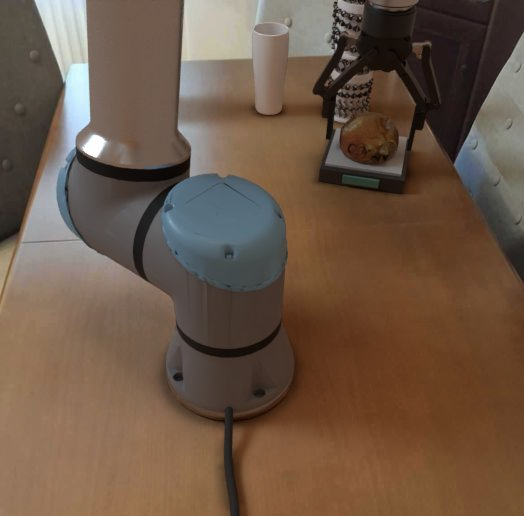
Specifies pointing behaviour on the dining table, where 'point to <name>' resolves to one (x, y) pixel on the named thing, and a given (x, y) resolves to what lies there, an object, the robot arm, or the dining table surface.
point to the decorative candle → (350, 62)
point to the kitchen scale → (364, 168)
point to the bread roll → (369, 138)
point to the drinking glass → (269, 65)
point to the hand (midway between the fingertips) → (368, 141)
